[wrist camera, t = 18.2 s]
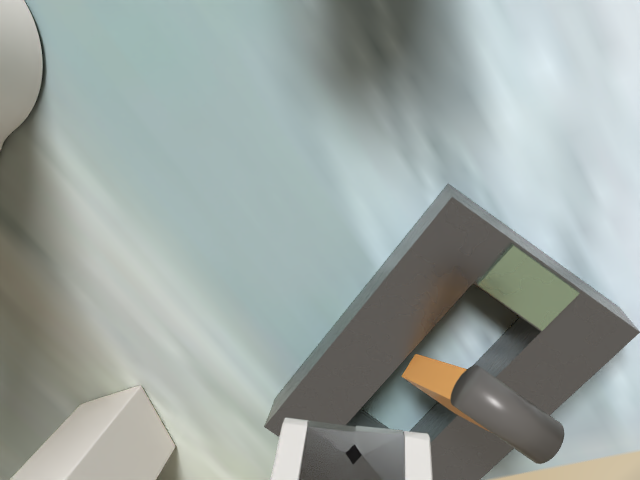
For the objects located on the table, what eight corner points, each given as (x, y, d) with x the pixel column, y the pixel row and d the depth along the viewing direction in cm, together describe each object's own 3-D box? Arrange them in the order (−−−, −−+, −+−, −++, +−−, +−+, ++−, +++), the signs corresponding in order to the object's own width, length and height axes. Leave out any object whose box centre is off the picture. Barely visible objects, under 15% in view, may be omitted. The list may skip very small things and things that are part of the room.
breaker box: (420, 496, 49) (422, 536, 45) (275, 397, 48) (262, 429, 44) (618, 306, 41) (642, 334, 37) (448, 183, 40) (452, 198, 36)
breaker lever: (456, 419, 41) (548, 469, 29) (395, 377, 41) (463, 410, 28) (473, 389, 41) (571, 426, 29) (414, 347, 41) (488, 368, 29)
